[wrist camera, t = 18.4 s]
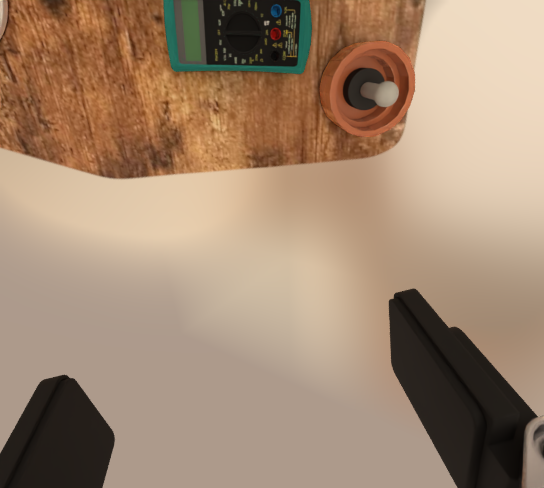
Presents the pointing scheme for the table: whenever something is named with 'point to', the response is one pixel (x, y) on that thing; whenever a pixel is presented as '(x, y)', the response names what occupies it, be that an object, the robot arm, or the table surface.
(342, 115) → the basin bowl
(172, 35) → the digital multimeter
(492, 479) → the robot arm
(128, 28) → the table surface
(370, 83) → the stopper
